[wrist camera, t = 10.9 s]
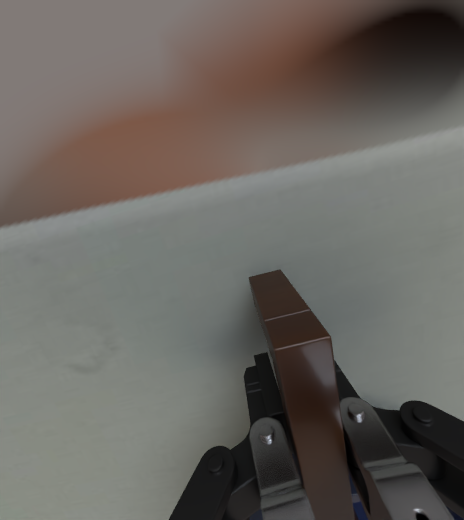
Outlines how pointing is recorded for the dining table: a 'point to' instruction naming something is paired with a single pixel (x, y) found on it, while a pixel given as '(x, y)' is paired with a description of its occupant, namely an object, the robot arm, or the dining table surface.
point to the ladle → (306, 393)
